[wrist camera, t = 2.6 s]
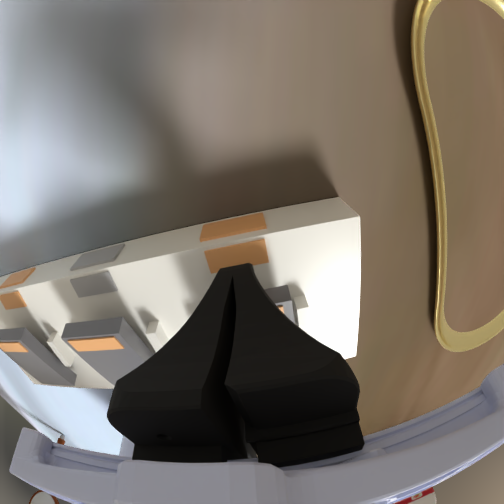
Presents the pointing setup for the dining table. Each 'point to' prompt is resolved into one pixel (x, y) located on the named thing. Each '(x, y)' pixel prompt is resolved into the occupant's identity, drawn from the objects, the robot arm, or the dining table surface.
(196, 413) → the robot arm
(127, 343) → the rocker
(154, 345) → the switch panel
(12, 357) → the rocker
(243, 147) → the dining table surface
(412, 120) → the dining table surface
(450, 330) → the serving platter
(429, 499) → the fruit juice
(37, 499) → the magnifying glass
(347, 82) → the dining table surface
